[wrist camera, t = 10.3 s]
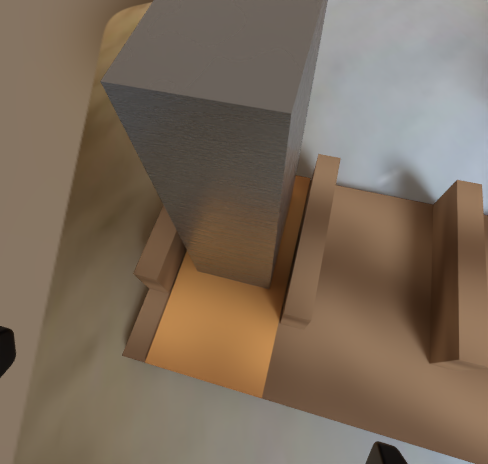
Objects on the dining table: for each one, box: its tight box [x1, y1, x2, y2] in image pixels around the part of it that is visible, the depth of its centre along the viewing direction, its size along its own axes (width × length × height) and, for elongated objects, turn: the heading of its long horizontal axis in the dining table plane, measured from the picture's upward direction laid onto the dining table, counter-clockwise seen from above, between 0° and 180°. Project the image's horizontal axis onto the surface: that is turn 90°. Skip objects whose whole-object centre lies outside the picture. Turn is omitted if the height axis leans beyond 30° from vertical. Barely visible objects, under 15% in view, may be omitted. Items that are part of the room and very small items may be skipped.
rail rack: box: [122, 154, 488, 464], centre depth 16 cm, size 12×23×4 cm, turn 75°
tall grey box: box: [101, 0, 328, 289], centre depth 13 cm, size 6×4×12 cm, turn 165°
